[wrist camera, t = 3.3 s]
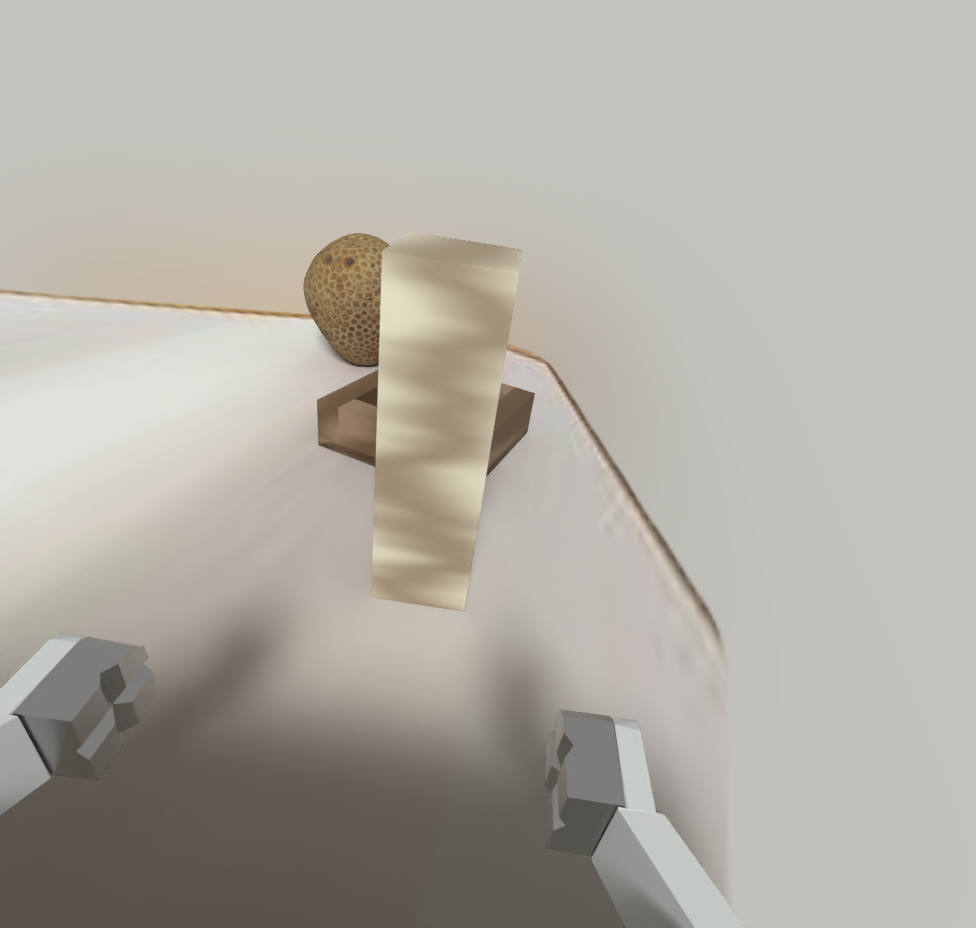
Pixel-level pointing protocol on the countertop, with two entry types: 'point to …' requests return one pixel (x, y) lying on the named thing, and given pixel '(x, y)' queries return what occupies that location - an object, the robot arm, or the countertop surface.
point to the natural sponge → (348, 295)
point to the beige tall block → (436, 410)
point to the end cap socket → (354, 420)
